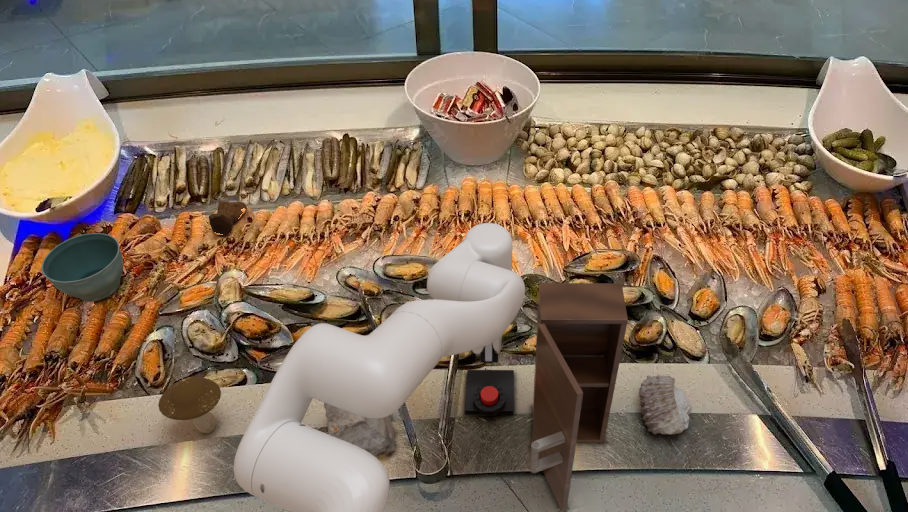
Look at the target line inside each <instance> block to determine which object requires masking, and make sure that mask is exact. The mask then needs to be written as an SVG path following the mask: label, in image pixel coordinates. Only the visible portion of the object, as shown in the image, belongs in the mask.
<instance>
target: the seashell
mask: <svg viewBox="0 0 908 512" xmlns="http://www.w3.org/2000/svg"><path fill="white" fill-rule="evenodd" d="M675 383H676V378H675V377H672V376H670V375H659V374H657V375H654V376H651V375H647V376H646V379H644V380H643V381H642V382H641V383H640V387H639V390H638V397H639V399H640V401H639V407H640V408H641V409H640V413H641V414H642V415H643V416H642V419H643V420H644V425H645V426H646V427H647V431H648V432H651V433H652V434H653V435H657V434H661V435H676V434H677V435H679V434H681V433H683V431H685V430H687V429H689V424H690V423H689V422H690V420H691V418H690V415H691V413H692V412H691V411H692V410H693V406H692V404H691V401H690V400H689V398H688V397H687V396H686V395H685V392H684V391H683V389H681V388H679V387H676V385H675Z"/></svg>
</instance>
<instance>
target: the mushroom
mask: <svg viewBox="0 0 908 512" xmlns="http://www.w3.org/2000/svg"><path fill="white" fill-rule="evenodd" d="M221 396H222V390H221V387H220V385H219V384H217V382H215V381H213V380H212V379H211V378H206V377H197V376H187V377H184V378H182V379H181V380H179V381H178V382H175V383H173V384H172V385H171V386H169V387H168V388H167V389H166V390H165V391H164V392H163V393H162V394H161V396H160V398H159V400H158V404H157V405H158V406H157V407H158V410H159V412H160V414H162V415H163V417H166V418H168V419H170V420H175V421H189V420H192V422H193V424H194V426H195V428H196V429H197V431H199V432H200V433H202V434H210V433H211V432H213V431H214V430H215V429H216V427H217V418H216V416H215V415H214V414H213V413H211V411H212V410H213V409H215V407H216V406H217V405H218V403H219V402H220V400H221V398H222V397H221Z"/></svg>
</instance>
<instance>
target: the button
mask: <svg viewBox="0 0 908 512" xmlns="http://www.w3.org/2000/svg"><path fill="white" fill-rule="evenodd" d="M481 401H482V403H483V404H484V405H487V406H492V405H494V404H496V403H497V401H498V391H497V389H496V388H495V387H492V386H487V387H484V388H483V389H482V390H481Z"/></svg>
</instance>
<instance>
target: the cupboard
mask: <svg viewBox="0 0 908 512" xmlns="http://www.w3.org/2000/svg"><path fill="white" fill-rule="evenodd" d="M537 301H538V303H537V321H536V339H535V340H536V341H535V357H534V375H533V376H534V378H533V395H532V396H533V397H532V414H533V413H534V395H535V377H536V359H537V341H538V325H540V324H543V323H544V324H545V326H546V328H547V330H548V331H549V333H550V335H551V337H552V338H553V340H554V342H555V344H556V345H557V347H558V349H559V351H560V353H561V354H562V356H563V358H564V360H565V361H566V363H567V365H568V367H569V368H570V370H571V372H572V374H573V375H574V377H575V379H576V381H577V383H578V384H579V386H580V388H581V390H582V391H583V398H582V405H581V412H580V419H579V426H578V433H577V440H576V444H579V443H581V444H582V443H584V444H585V443H586V444H591V443H593V444H603V443H605V439H606V434H607V428H608V424H609V418H610V414H611V409H612V403H613V398H614V393H615V388H616V382H617V378H618V371H619V368H620V362H621V357H622V351H623V347H624V341H625V337H626V333H627V332H626V331H627V326H628V321H629V318H628V312H627V308H626V301H625V294H624V288H623V283H621V282H620V283H617V282H615V283H611V282H610V283H608V282H607V283H606V282H605V283H601V282H600V283H598V282H593V283H592V282H589V283H588V282H572V283H571V282H539V283H538V300H537Z"/></svg>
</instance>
